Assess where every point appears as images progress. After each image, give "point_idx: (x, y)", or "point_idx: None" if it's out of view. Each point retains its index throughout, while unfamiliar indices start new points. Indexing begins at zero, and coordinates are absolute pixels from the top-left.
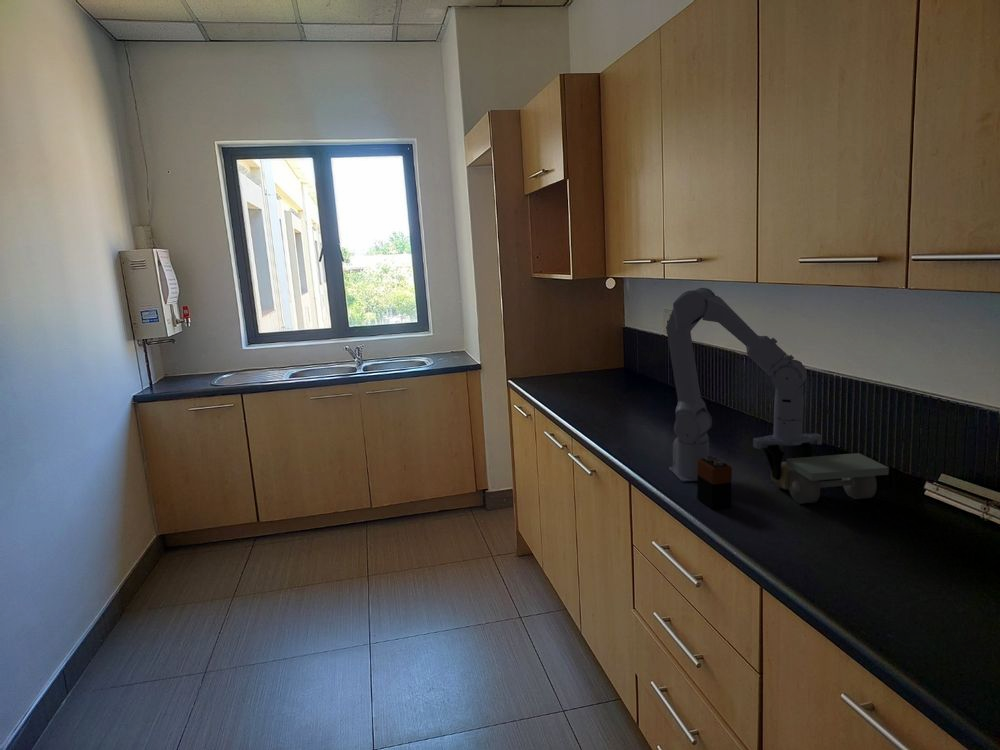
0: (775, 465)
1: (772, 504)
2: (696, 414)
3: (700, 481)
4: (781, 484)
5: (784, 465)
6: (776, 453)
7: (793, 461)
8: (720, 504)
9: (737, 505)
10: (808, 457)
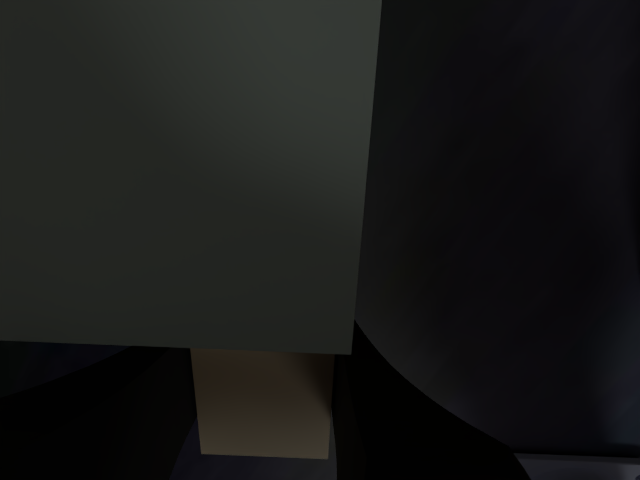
0: (393, 368)
1: (454, 142)
2: None
3: None
4: None
5: (269, 400)
6: (497, 464)
7: (333, 227)
8: None
9: (625, 174)
10: (45, 325)
